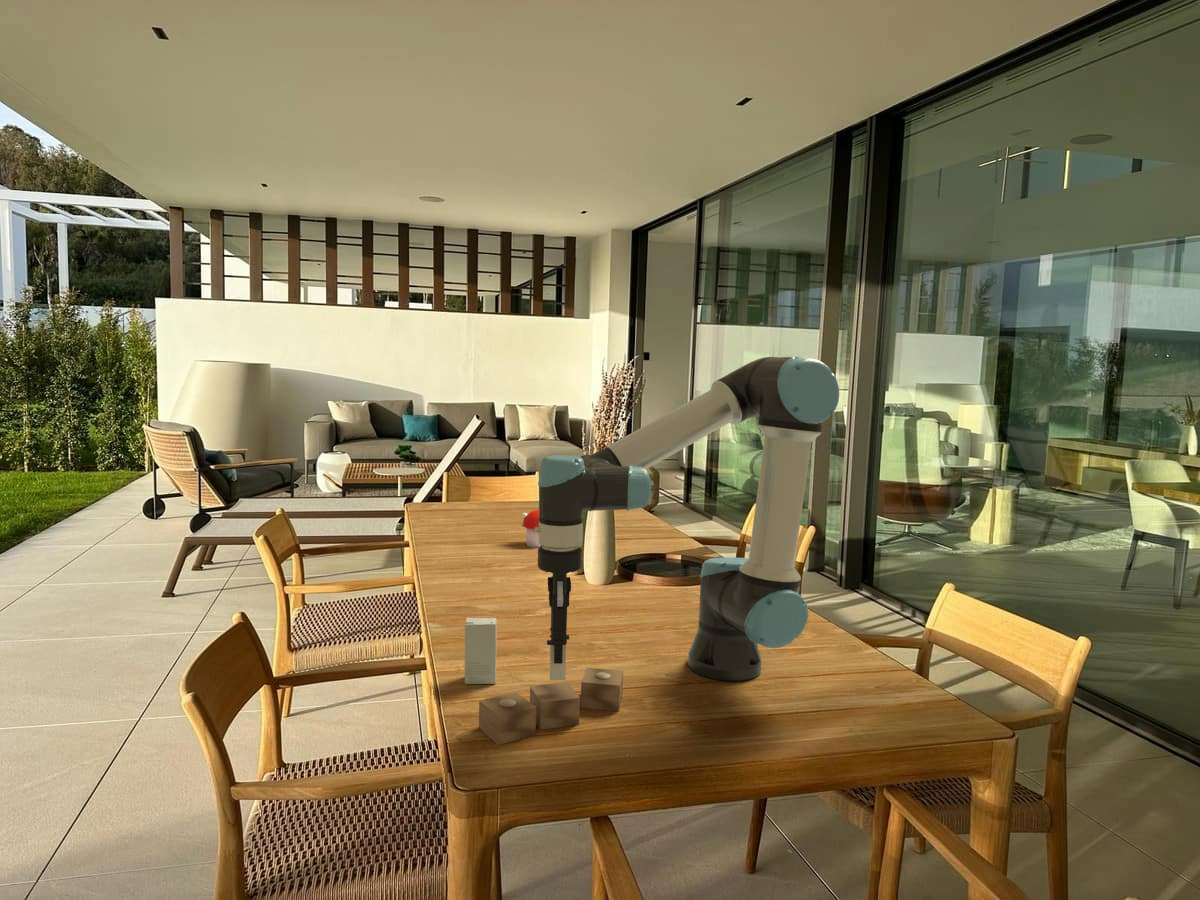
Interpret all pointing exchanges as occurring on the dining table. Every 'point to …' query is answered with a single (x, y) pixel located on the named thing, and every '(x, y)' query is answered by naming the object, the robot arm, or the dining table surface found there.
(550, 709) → the plain walnut block
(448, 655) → the dining table surface
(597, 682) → the dotted walnut block
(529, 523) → the mushroom
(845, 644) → the dining table surface
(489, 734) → the dotted walnut block
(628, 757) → the dining table surface
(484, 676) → the skincare box
